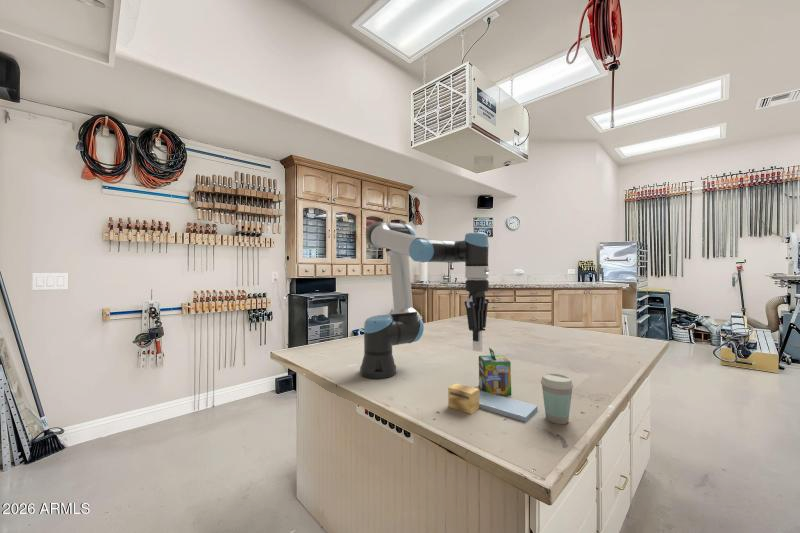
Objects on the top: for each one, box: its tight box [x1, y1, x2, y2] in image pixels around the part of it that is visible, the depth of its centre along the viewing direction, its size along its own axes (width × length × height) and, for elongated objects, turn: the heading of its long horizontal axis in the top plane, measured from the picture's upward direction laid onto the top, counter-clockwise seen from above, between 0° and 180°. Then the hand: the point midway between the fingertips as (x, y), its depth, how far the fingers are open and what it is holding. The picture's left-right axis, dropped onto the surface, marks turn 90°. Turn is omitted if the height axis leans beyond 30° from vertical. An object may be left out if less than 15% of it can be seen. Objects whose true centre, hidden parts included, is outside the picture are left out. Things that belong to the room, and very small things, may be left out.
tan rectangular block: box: [447, 382, 480, 415], centre depth 99 cm, size 8×5×6 cm, turn 49°
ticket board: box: [479, 389, 539, 423], centre depth 102 cm, size 24×10×2 cm, turn 49°
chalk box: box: [478, 347, 512, 396], centre depth 114 cm, size 9×9×15 cm
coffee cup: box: [540, 372, 574, 425], centre depth 92 cm, size 8×8×12 cm
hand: (477, 350), depth 106 cm, fingers closed
